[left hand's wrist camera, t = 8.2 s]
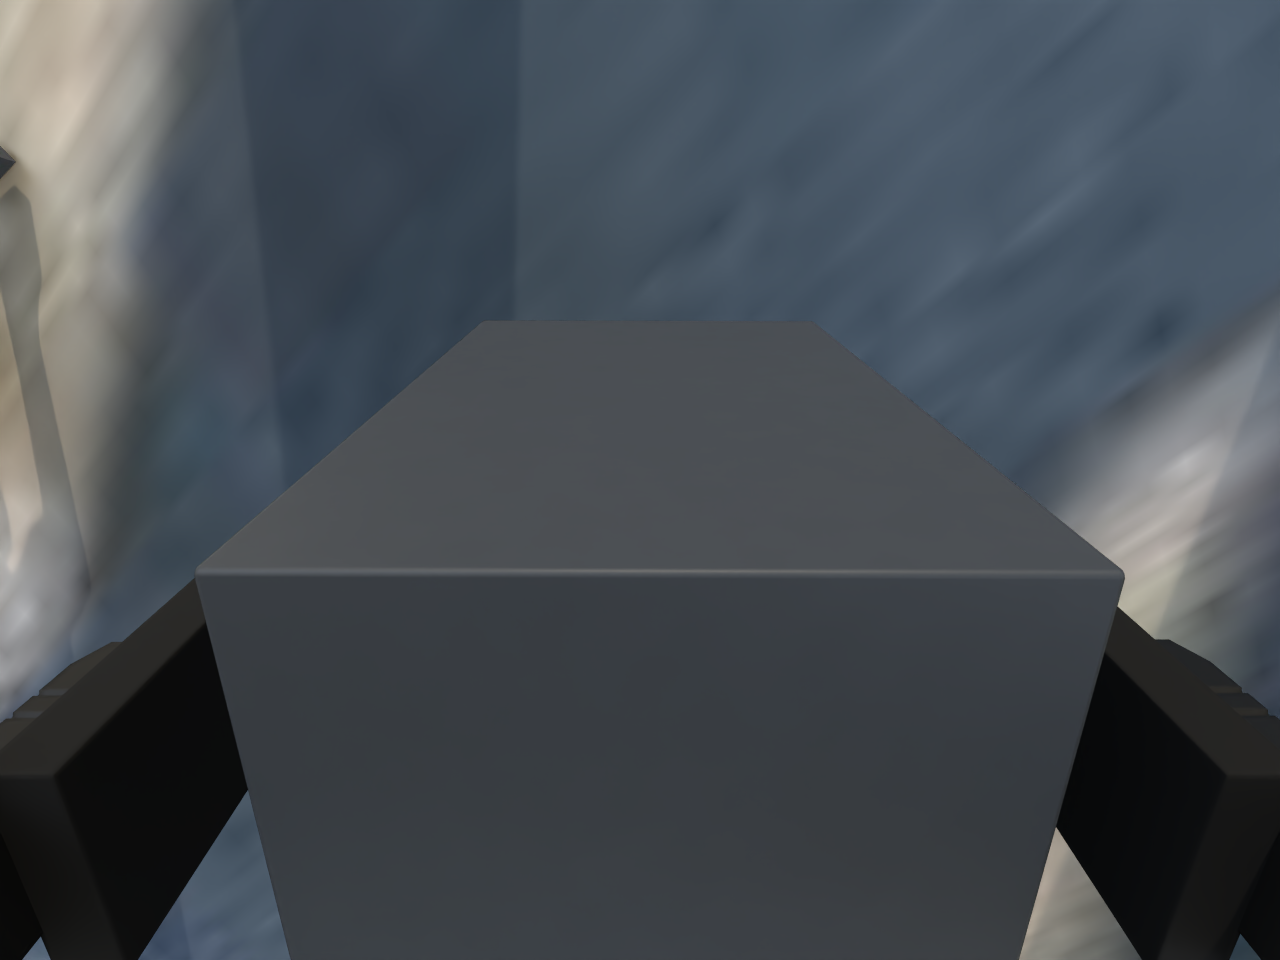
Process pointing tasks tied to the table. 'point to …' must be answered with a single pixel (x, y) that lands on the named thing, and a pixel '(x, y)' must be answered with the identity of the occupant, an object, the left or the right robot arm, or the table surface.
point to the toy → (5, 162)
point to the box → (656, 661)
